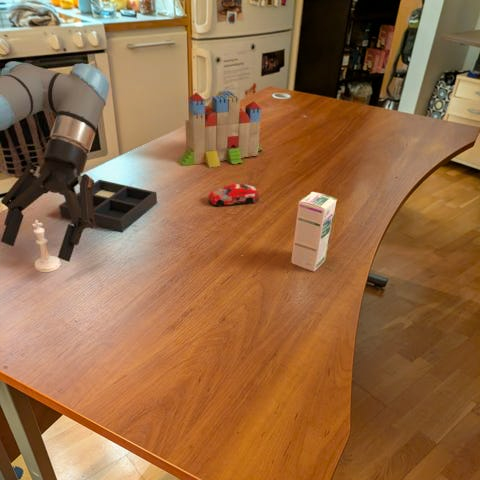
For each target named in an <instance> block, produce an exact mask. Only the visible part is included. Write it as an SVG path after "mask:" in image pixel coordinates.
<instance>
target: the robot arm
mask: <svg viewBox="0 0 480 480" xmlns="http://www.w3.org/2000/svg"><path fill="white" fill-rule="evenodd" d="M109 92H110V81H109V80H108V78H107V76H106V75H105V74H104V73H103V72H102V71H101V70H99V69H98V68H96V67H95V66H93V65H90V64H86V63H83V62H81V63H76V64H74V65H72V68H71V70H70V72H69V73H64V72H59V71H55V70H51V69H47V68H43V67H41V66H36V65H33V64H32V63H29V62H19V61H13V60H11V61H8V62H7V63H6V64H5V65H4V67H3V68H2V69H1V71H0V132H1V131H5V130H7V129H9V128H10V127H11V126H13V125H14V124H16V123H18V122H20V121H22V120H24V119H25V120H26V119H27V118H29V117H31V116H33V115H35V114H37V113H39V112H43V111H44V112H48V113H51V114H54V115H56V117H55V120H54V121H53V125H52V128H51V132H50V135H49V137H50V138H49V139H48V141H47V143H46V147H45V150H44V153H43V163H42V165H41V166H39V165H37V164H35V163H34V162H32V161H28V162H27V164H26V166H25V168H24V171H23V173H22V174H21V175H20V176H19V178H18V179H17V180H16V181H15V182H14V184H13V185H12V186H11V187H10V189H9V190H8V191H7V193H6V194H5V195H4V196H3V197H2V198H1V201H0V202H1V204H2V205H4V207H6V208H7V213H6V217H5V220H4V223H3V224H4V226H5V227H4V231H3V233H2V236H1V239H0V243H3V244H5V245H7V246H11V247H14V246H15V243H16V240H17V237H18V234H19V231H20V228H21V225H22V222H23V219H24V216H25V215H24V214H23V211H24V210H26V209H27V208H28V207H29V206H31V205H33V203H34V202H35V201H37V200H38V199H39V198H41V197H42V196H43V195H46V194H48V193H49V192H50V193H53V194H59V195H62V196H63V197H64V200H65V201H66V203H67V206H68V210H69V213H70V216H71V219H70V220H71V222H70V224H69V223H68V224H67V227H66V230H65V232H64V236H63V239H62V242H61V245H60V249H59V251H58V254H57V258H58V259H59V260H60V259H61V260H63V261H65V262H68V263H69V262H70V261H71V257H72V255H73V252H74V248H75V246H78V245H79V244H80V241H81V238H82V234H83V231H84V230H85V229H94V228H95V226H96V225H95V221H94V208H93V196H92V189H93V185H94V183H95V180H94V179H93V178H91V176H89V175H88V174H86V173H84V170H85V167H86V165H87V162H88V161H87V160H88V158H89V156H88V154H89V153H90V152H91V149H92V145H93V142H94V139H95V136H96V133H97V129H98V126H99V123H100V120H101V117H102V115H103V112H104V109H105V107H106V105H107V99H108V96H109ZM83 173H84V174H83ZM81 174H82V175H81ZM78 185H79V192H80V199H81V210H80V207H79V204H78V201H77V194H78V193H77V191H76V187H77V186H78ZM81 212H82V213H81Z"/></svg>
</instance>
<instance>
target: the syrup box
mask: <svg viewBox="0 0 480 480" xmlns="http://www.w3.org/2000/svg"><path fill="white" fill-rule="evenodd" d="M337 200H338V199H337V198H335V197H333V196H330V195H327V194H324V193H320V192H315V191H311V192H310V193H309V194H308V195H306V196H305V197H303V198H301V200H299V201H298V205H297V214H296V221H295V228H294V237H293V245H292V250H291V251H292V252H291V259H290V263H291V264H293V265H295V266H298V267H300V268H302V269H305V270H308V271H311V272H313V273H314V272H316V270H317V269H318V268H320V267H321V266H322V265H323V264H324V263H325V261H327V256H328V251H329V245H330V239H331V233H332V228H333V222H334V218H335V211H336V208H337V207H336V206H337Z"/></svg>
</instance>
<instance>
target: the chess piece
mask: <svg viewBox="0 0 480 480" xmlns="http://www.w3.org/2000/svg"><path fill="white" fill-rule="evenodd" d="M43 226H44V224H43V222H39V220H38V219H35V223H32V227H33V231H32V232H33V233H34V235H35V236H36V238H37V239H36V240H35V243H36V244H37V245H39V249H40V257H39V258H38V259H36V260H35V262H34V269H35V270H36V271H38V272H40V273H49V272H50V273H51V272H54V271H57V270H58V269H59V268H60V267H61V265H62V262H61V260H60V258H58V256H55V255H54V256H53V255H50V252H49V250H48V247H47V245H46V244H47V243H48V241H49V240H48V239H47V238H46V237H45V232H46V230H45V227H43Z"/></svg>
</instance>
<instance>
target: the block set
mask: <svg viewBox="0 0 480 480" xmlns="http://www.w3.org/2000/svg"><path fill="white" fill-rule="evenodd" d="M188 111H189V112H188V119H185V123H184V124H185V151H184V152H183V153H184V154H183V155H181V158H179V159H178V162H179V164H181V166H183V167H184V166H192V165H201V164H206V166H208V168H217V167H218V166H219V167H221V163H220V162H225V161H224V160H226V161H227V162H228V163H230V164H231V165H232V164H233V165H239V164H238V163H241V164H243V163H244V162H243V160H242V159H245V158H244V157H250V156H256V155H258V156H259V152H260V151H259V150H263V151H264V149H263V147H262V146H261V145H260V135H261V134H260V133H261V118H262V117H261V116H262V108H261V106H260V105H258V103H256V101H253V100H252V101H251V102H249V103H248V104H247V105H245V109H244V110H243V109H242V108H241V97H240V96H238V95H237V94H236V93H235V92H233V91H231V90H223V91H222V90H220V91H218V93H216V95H212V96H211V101H210V102H209V103H208V105H206V100H205V98H203V97H202V96H201V95H200V94H199V93H198V92H195V93H193V94H192V95H190V96H189V97H188ZM258 151H259V152H258ZM241 158H242V159H241ZM250 158H251V157H250Z"/></svg>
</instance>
